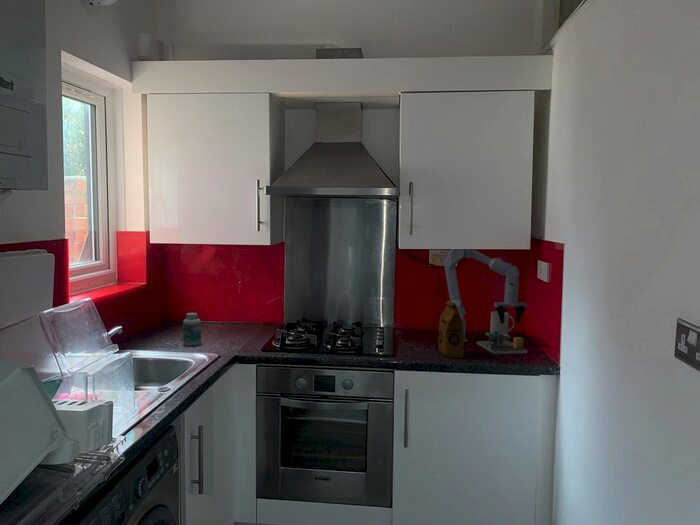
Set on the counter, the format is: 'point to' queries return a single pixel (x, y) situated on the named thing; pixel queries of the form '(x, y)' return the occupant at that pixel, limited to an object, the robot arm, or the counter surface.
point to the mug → (499, 326)
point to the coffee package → (451, 332)
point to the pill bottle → (192, 330)
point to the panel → (501, 346)
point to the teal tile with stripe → (498, 335)
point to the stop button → (492, 339)
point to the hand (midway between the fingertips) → (509, 323)
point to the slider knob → (517, 342)
